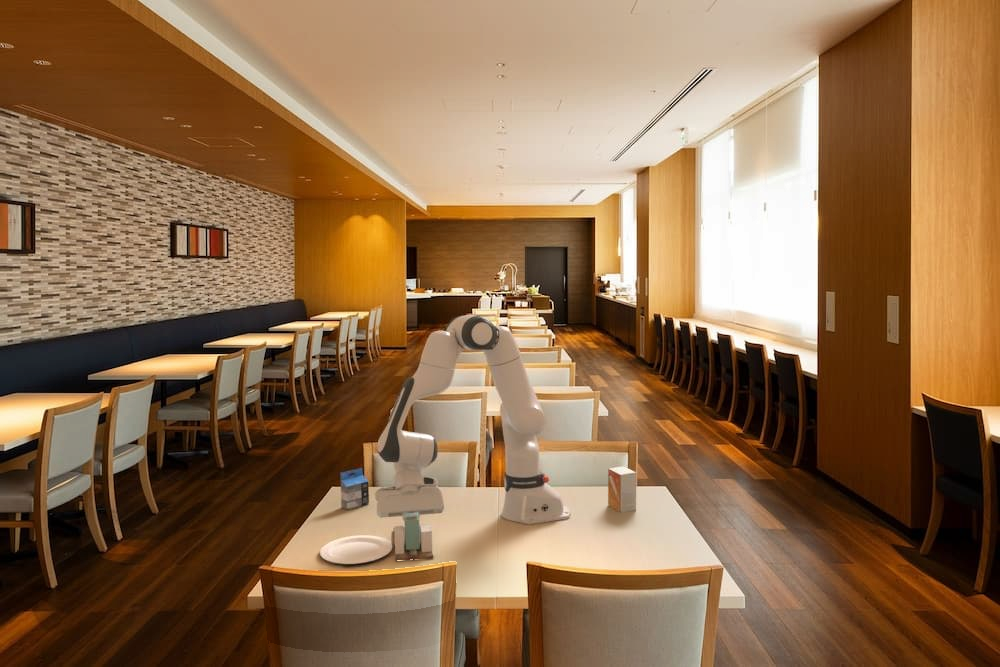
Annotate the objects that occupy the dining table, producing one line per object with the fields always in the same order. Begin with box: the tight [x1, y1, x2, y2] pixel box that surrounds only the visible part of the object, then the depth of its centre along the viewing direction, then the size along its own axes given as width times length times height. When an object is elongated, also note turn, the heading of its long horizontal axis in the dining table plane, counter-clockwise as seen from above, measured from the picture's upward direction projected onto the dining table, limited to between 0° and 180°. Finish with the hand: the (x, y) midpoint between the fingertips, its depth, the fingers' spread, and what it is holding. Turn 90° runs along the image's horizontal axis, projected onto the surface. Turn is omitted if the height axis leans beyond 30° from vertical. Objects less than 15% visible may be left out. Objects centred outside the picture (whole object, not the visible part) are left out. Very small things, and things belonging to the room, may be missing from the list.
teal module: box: [403, 512, 420, 550], centre depth 219 cm, size 4×6×10 cm, turn 9°
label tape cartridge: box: [340, 467, 370, 511], centre depth 258 cm, size 9×4×12 cm, turn 131°
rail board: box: [393, 525, 434, 561], centre depth 224 cm, size 10×24×1 cm, turn 9°
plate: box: [319, 534, 393, 566], centre depth 219 cm, size 21×21×2 cm
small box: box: [607, 465, 637, 513], centre depth 253 cm, size 8×6×13 cm
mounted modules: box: [393, 523, 433, 554], centre depth 218 cm, size 10×6×6 cm, turn 99°
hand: (411, 527), depth 223 cm, fingers closed
